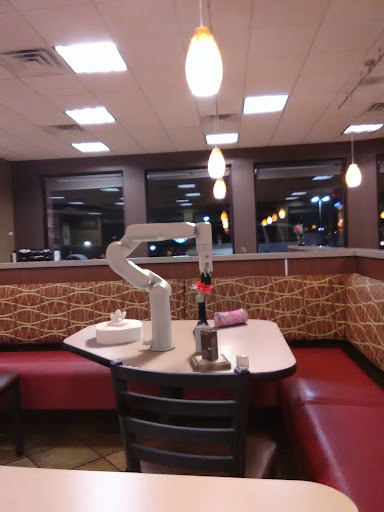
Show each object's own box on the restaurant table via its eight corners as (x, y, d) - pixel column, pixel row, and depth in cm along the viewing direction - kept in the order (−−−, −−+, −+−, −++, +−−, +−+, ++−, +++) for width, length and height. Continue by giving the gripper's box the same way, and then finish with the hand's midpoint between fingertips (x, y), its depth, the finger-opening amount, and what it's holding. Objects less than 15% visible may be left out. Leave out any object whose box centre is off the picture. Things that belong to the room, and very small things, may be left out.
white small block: (238, 369, 157) (237, 358, 156) (235, 365, 161) (234, 354, 161) (250, 368, 157) (250, 356, 157) (247, 364, 162) (246, 353, 162)
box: (200, 359, 164) (199, 330, 164) (208, 356, 167) (207, 328, 167) (211, 361, 160) (210, 331, 159) (219, 359, 163) (217, 329, 162)
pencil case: (219, 329, 229) (218, 313, 229) (211, 326, 238) (210, 311, 237) (250, 323, 239) (249, 308, 239) (241, 321, 247) (240, 307, 247)
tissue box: (95, 335, 228) (94, 307, 228) (139, 331, 235) (137, 303, 234) (97, 346, 204) (95, 315, 203) (145, 340, 210) (144, 310, 210)
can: (206, 354, 178) (205, 328, 178) (192, 353, 182) (191, 327, 182) (214, 350, 185) (213, 324, 184) (200, 348, 189) (199, 323, 188)
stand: (196, 372, 155) (196, 365, 155) (191, 361, 169) (190, 355, 169) (231, 368, 158) (231, 362, 158) (223, 358, 171) (222, 352, 171)
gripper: (215, 248, 182) (217, 285, 183) (208, 247, 199) (210, 281, 200) (199, 248, 181) (201, 286, 182) (193, 248, 198) (195, 282, 199)
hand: (205, 283), depth 191 cm, fingers open, 9 cm apart
